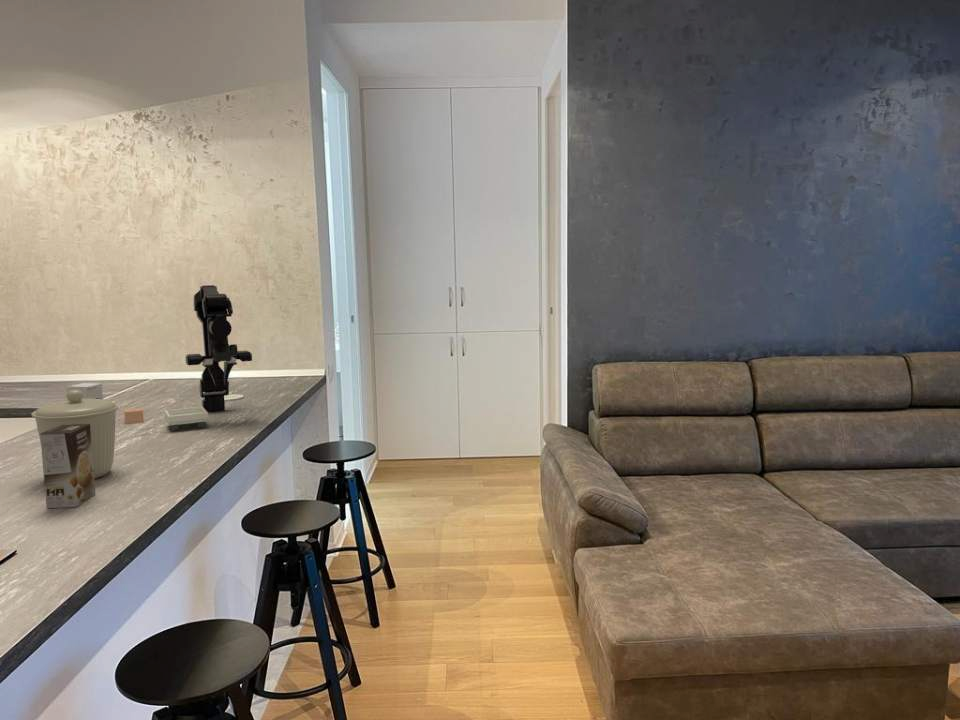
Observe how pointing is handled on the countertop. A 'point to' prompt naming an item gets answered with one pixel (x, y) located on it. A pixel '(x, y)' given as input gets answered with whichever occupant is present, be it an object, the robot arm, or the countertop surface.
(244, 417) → the countertop surface
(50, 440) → the coffee box
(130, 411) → the block
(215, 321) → the robot arm
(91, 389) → the supplement box
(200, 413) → the white tray
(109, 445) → the canister
